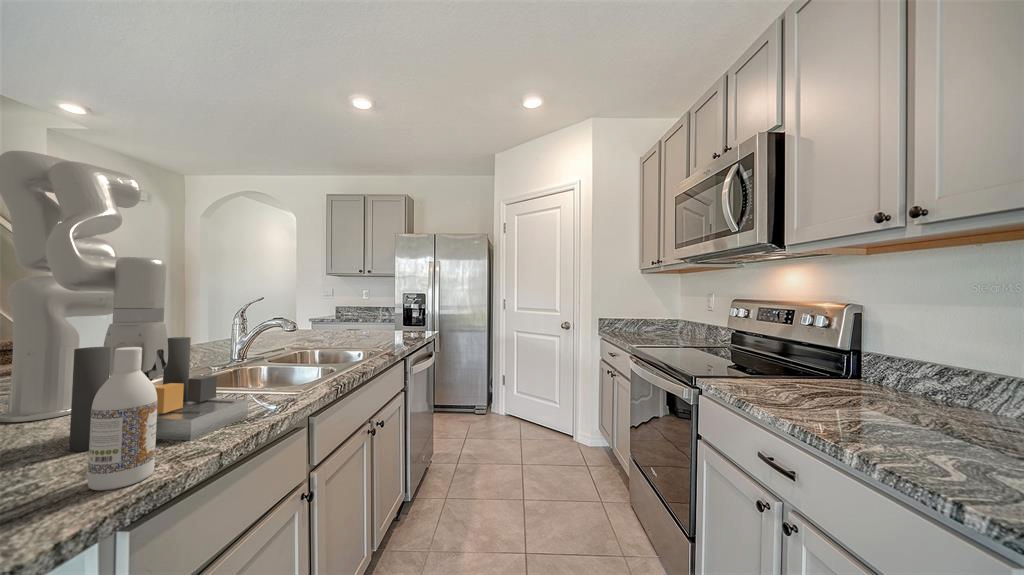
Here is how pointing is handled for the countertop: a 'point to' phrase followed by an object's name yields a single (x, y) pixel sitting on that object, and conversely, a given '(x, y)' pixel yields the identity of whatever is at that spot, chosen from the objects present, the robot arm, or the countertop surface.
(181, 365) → the post
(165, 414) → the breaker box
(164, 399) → the tab orange
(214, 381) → the grey small block
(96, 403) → the bath foam
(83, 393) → the post
